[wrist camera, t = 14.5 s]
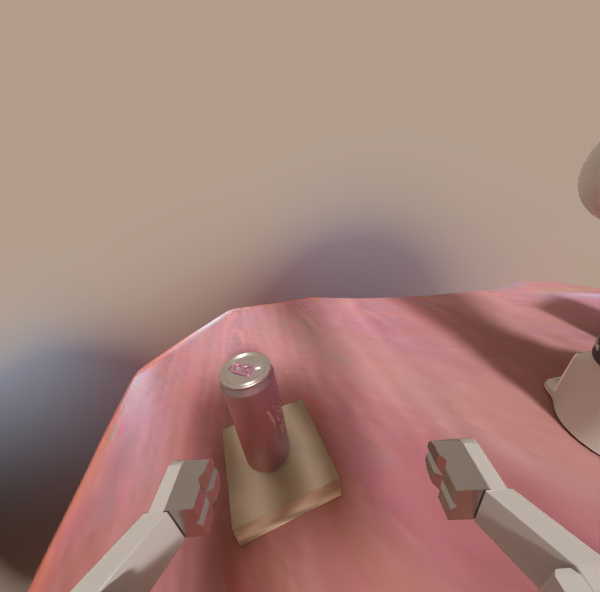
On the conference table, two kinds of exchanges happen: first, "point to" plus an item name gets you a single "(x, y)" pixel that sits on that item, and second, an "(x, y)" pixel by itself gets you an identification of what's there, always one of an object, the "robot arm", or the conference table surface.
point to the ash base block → (279, 479)
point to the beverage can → (256, 410)
